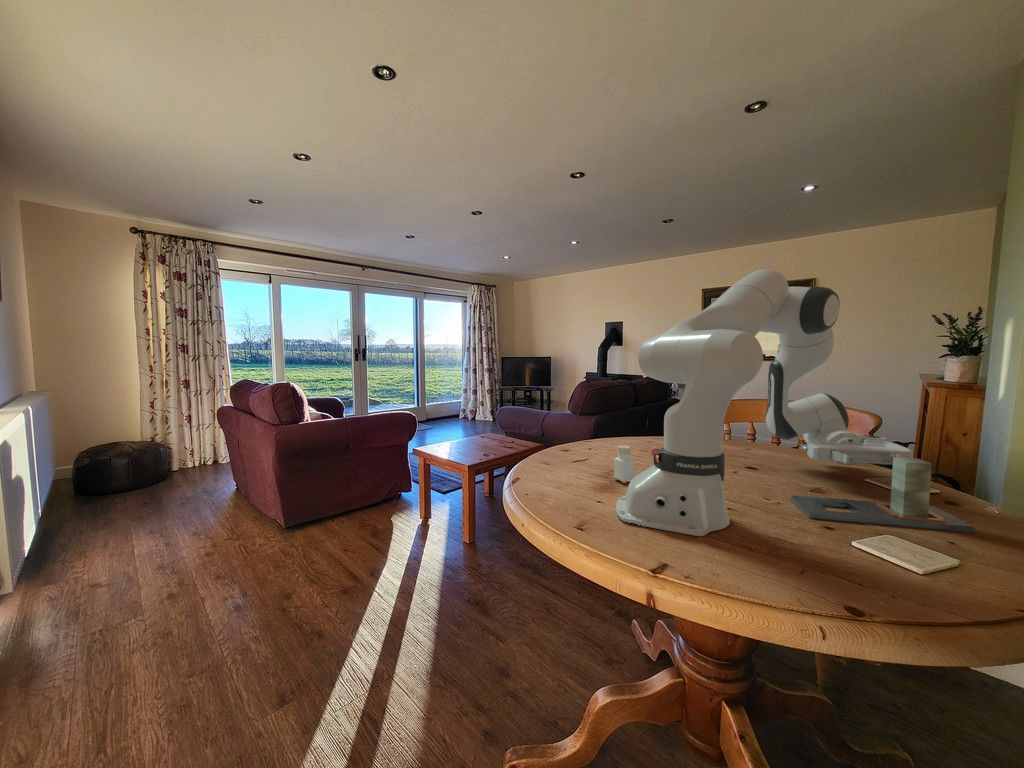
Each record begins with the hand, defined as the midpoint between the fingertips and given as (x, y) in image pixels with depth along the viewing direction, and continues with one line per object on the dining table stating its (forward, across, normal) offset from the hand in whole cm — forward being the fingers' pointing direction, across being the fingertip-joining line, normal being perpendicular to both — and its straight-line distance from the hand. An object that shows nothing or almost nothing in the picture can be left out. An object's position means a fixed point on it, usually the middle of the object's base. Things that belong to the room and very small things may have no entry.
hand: (874, 461), depth 90 cm
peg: (+12, 0, +8) cm, 15 cm away
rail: (+12, -6, +8) cm, 16 cm away
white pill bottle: (+2, -56, +9) cm, 57 cm away
